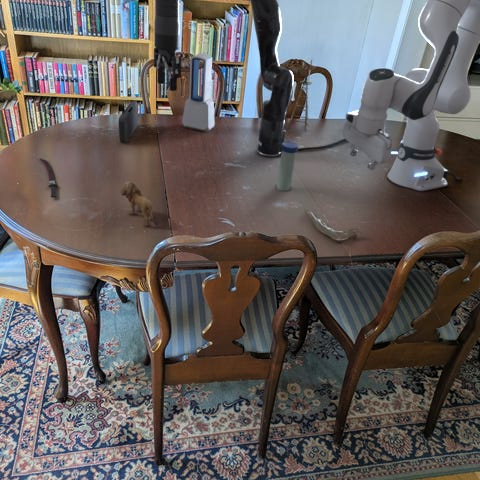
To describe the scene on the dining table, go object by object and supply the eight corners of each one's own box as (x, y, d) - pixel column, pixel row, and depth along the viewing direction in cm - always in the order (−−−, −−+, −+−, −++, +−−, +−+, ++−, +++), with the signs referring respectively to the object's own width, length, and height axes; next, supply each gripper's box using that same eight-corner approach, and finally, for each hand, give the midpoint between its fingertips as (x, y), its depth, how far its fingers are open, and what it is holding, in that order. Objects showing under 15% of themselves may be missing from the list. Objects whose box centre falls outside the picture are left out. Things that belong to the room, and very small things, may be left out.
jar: (276, 183, 163) (282, 142, 155) (290, 185, 163) (297, 144, 155) (276, 189, 159) (282, 147, 151) (290, 191, 159) (297, 149, 151)
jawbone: (347, 249, 132) (348, 244, 131) (288, 222, 142) (289, 217, 141) (362, 236, 138) (364, 230, 136) (304, 210, 148) (305, 205, 147)
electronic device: (214, 128, 204) (219, 56, 188) (208, 133, 198) (212, 59, 182) (188, 122, 207) (190, 51, 191) (181, 127, 201) (183, 54, 185)
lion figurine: (118, 210, 138) (116, 182, 133) (132, 204, 141) (131, 177, 137) (151, 229, 130) (150, 201, 126) (165, 223, 134) (165, 195, 129)
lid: (281, 145, 156) (282, 140, 155) (297, 147, 156) (298, 142, 155) (281, 151, 152) (281, 146, 151) (297, 153, 151) (298, 148, 150)
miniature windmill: (306, 131, 212) (318, 62, 195) (287, 128, 213) (298, 59, 196) (307, 125, 219) (319, 58, 203) (289, 122, 220) (300, 55, 204)
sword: (61, 197, 141) (61, 193, 140) (50, 198, 139) (50, 194, 139) (49, 160, 164) (48, 156, 163) (39, 160, 163) (39, 157, 162)
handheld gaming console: (132, 123, 199) (131, 100, 194) (138, 124, 200) (137, 100, 194) (118, 143, 180) (117, 117, 175) (125, 143, 180) (124, 118, 175)
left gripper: (189, 36, 136) (188, 92, 145) (167, 27, 145) (167, 80, 154) (166, 36, 132) (166, 94, 141) (145, 27, 142) (146, 81, 150)
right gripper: (401, 135, 139) (390, 175, 148) (358, 108, 153) (350, 146, 162) (384, 139, 137) (374, 179, 146) (342, 111, 151) (335, 149, 159)
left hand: (166, 86), depth 148 cm, fingers open, 8 cm apart
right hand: (361, 161), depth 154 cm, fingers open, 8 cm apart
